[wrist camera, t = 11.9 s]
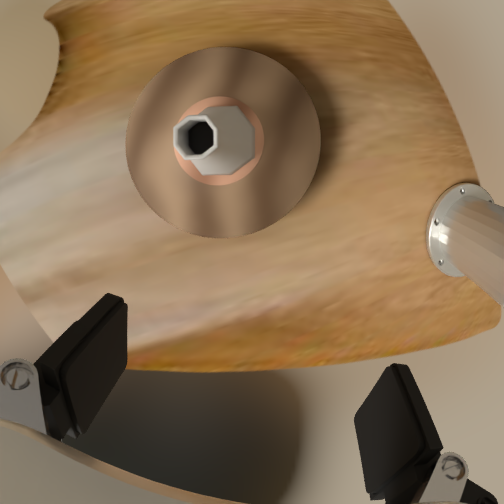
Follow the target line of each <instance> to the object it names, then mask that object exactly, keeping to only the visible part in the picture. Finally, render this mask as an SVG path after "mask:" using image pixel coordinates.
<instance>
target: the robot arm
mask: <svg viewBox="0 0 504 504" xmlns="http://www.w3.org/2000/svg"><path fill="white" fill-rule="evenodd" d="M426 243H427V250H428V253H429V256H430V258H431V260H432V262H433V264H434V265H435V266H436V267H437V268H438V269H439V270H440V271H442V272H443V273H444V274H446V275H448V276H452V277H462V276H467V277H468V278H469V279H470V280H472V281H473V282H474V283H475V284H476V285H478V286H479V287H480V288H481V289H482V290H484V291H485V292H486V293H487V294H488V295H489V296H491V297H492V298H493V299H494V300H495V301H496V302H498V303H499V304H500V305H501V306H502V307H503V308H504V207H502V206H499V205H496V204H494V201H493V199H492V198H491V196H490V195H489V193H488V192H487V191H486V190H485V189H483V188H482V187H480V186H478V185H475V184H471V183H459V184H457V185H454V186H452V187H451V188H449V189H447V190H446V191H445V192H444V193H443V194H442V195H441V196H440V197H439V199H438V200H437V202H436V203H435V205H434V207H433V209H432V211H431V214H430V217H429V220H428V224H427V230H426ZM127 312H128V306H127V304H126V303H124V300H123V298H122V297H119V296H116V295H113V294H110V293H107V294H105V295H104V296H103V297H102V298H101V299H100V300H99V301H98V302H97V303H96V304H95V305H94V306H93V307H92V308H91V309H90V310H89V311H88V312H87V313H86V314H85V315H84V316H83V317H82V318H80V319H79V320H78V321H76V322H74V323H73V324H72V325H71V326H70V327H69V328H68V329H67V330H66V331H65V332H64V333H63V334H62V335H61V336H60V337H59V338H58V339H57V340H56V341H55V342H54V343H53V344H52V345H51V346H50V347H49V348H48V349H47V350H46V351H45V352H44V354H43V355H42V356H41V357H40V358H39V359H38V360H37V361H36V362H35V363H34V364H32V363H31V362H29V361H27V360H24V359H18V358H16V359H10V360H8V361H6V362H4V363H3V364H2V365H1V366H0V504H246V503H239V502H234V501H228V500H223V499H218V498H214V497H209V496H204V495H200V494H196V493H192V492H188V491H185V490H181V489H177V488H173V487H170V486H167V485H164V484H161V483H157V482H154V481H151V480H148V479H146V478H143V477H140V476H137V475H135V474H132V473H129V472H127V471H124V470H122V469H119V468H116V467H114V466H112V465H109V464H107V463H105V462H102V461H100V460H97V459H95V458H93V457H91V456H89V455H87V454H84V453H82V452H80V451H78V450H76V449H74V448H72V447H70V446H68V445H66V444H64V443H62V440H61V439H63V438H64V436H65V435H66V434H68V435H70V436H72V437H73V438H75V439H77V437H78V436H79V434H80V433H82V434H84V433H85V432H86V431H87V429H88V428H89V426H90V424H91V423H92V421H93V419H94V418H95V416H96V415H97V413H98V411H99V410H100V408H101V406H102V405H103V403H104V401H105V400H106V398H107V397H108V395H109V393H110V392H111V390H112V389H113V387H114V385H115V384H116V382H117V381H118V379H119V377H120V376H121V374H122V373H123V371H124V370H125V368H126V365H127ZM354 423H355V429H356V434H357V439H358V445H359V450H360V456H361V462H362V468H363V474H364V481H365V487H366V491H367V493H370V500H382V499H384V498H385V501H386V503H385V504H498V502H497V499H496V498H495V497H494V495H492V494H491V493H490V492H488V491H486V490H485V489H483V488H481V487H480V486H478V485H477V484H475V483H474V482H472V481H470V480H469V479H467V477H468V466H467V464H466V461H465V460H464V459H463V458H462V457H461V456H460V455H458V454H456V453H454V452H447V453H444V454H442V455H441V454H440V451H441V450H442V449H443V446H442V443H441V440H440V438H439V435H438V433H437V430H436V428H435V425H434V423H433V420H432V418H431V416H430V413H429V411H428V409H427V406H426V404H425V402H424V400H423V397H422V395H421V393H420V390H419V388H418V386H417V384H416V382H415V379H414V377H413V375H412V373H411V371H410V369H409V367H408V366H407V365H404V364H396V363H393V364H392V365H390V366H389V367H386V369H385V370H384V372H383V373H382V375H381V377H380V378H379V380H378V381H377V383H376V384H375V386H374V387H373V389H372V391H371V392H370V394H369V395H368V397H367V398H366V399H365V401H364V402H363V404H362V405H361V407H360V408H359V410H358V411H357V412H356V414H355V417H354Z"/></svg>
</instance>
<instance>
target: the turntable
mask: <svg viewBox="0 0 504 504" xmlns="http://www.w3.org/2000/svg"><path fill="white" fill-rule="evenodd" d="M216 106H238V107H239V109H240V110H241V111H242V112H243V114H244V115H245V116H246V117H247V119H248V120H249V121H250V123H251V124H252V125H253V126H254V128H255V158H254V159H252V160H251V161H250V162H248V163H247V164H245V165H244V166H243V167H241V168H240V169H239V170H237V171H236V172H235V173H233V174H232V175H202V174H201V173H200V172H199V171H198V169H197V168H196V167H195V165H194V164H193V163H192V162H191V160H184V159H183V157H182V156H181V155H180V154H179V152H178V151H177V150H176V148H175V147H174V146H173V127H174V126H176V125H177V124H178V123H179V122H180V121H182V120H183V119H184V118H185V117H186V116H188V115H198V114H199V113H200V112H202V111H203V110H204V109H206V108H207V107H216ZM320 149H321V133H320V125H319V120H318V116H317V113H316V109H315V107H314V105H313V102H312V100H311V98H310V96H309V94H308V93H307V91H306V90H305V88H304V86H303V85H302V84H301V83H300V82H299V80H298V79H297V78H296V77H295V76H294V75H293V74H292V73H291V72H290V71H289V70H288V69H286V68H285V67H284V66H283V65H281V64H280V63H278V62H277V61H275V60H273V59H271V58H269V57H267V56H265V55H263V54H260V53H258V52H254V51H251V50H247V49H242V48H235V47H216V48H208V49H203V50H199V51H196V52H193V53H190V54H187V55H185V56H183V57H181V58H179V59H177V60H175V61H173V62H172V63H170V64H169V65H167V66H166V67H164V68H163V69H162V70H161V71H160V72H158V73H157V74H156V75H155V76H154V77H153V78H152V79H151V80H150V82H149V83H148V84H147V85H146V86H145V88H144V89H143V91H142V92H141V94H140V95H139V97H138V99H137V101H136V103H135V105H134V107H133V109H132V112H131V115H130V118H129V122H128V126H127V131H126V157H127V163H128V168H129V171H130V174H131V178H132V180H133V182H134V184H135V187H136V189H137V190H138V192H139V193H140V195H141V197H142V198H143V200H144V201H145V202H146V203H147V205H148V206H149V207H150V208H151V209H152V210H153V211H154V212H155V213H156V214H157V215H158V216H159V217H161V218H162V219H164V220H165V221H166V222H168V223H169V224H171V225H173V226H175V227H176V228H178V229H180V230H183V231H185V232H188V233H190V234H194V235H198V236H202V237H209V238H233V237H240V236H244V235H248V234H252V233H254V232H257V231H260V230H262V229H264V228H266V227H268V226H270V225H272V224H274V223H275V222H277V221H278V220H279V219H281V218H282V217H283V216H285V215H286V214H287V213H288V212H289V211H290V210H291V209H292V208H293V207H294V206H295V205H296V204H297V203H298V202H299V200H300V199H301V198H302V197H303V195H304V194H305V192H306V190H307V189H308V187H309V186H310V183H311V181H312V179H313V177H314V174H315V172H316V168H317V165H318V161H319V155H320Z"/></svg>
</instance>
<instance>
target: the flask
mask: <svg viewBox="0 0 504 504" xmlns="http://www.w3.org/2000/svg"><path fill="white" fill-rule="evenodd" d="M173 146H174V147H175V148H176V150H177V151H178V152H179V154H180V155H181V156H182V157H183V159H184V160H191V162H192V163H193V164H194V165H195V167H196V168H197V169H198V171H199V172H200V173H201V174H202V175H232V174H233V173H235V172H236V171H237V170H239V169H240V168H241V167H243V166H244V165H245V164H247V163H248V162H250V161H251V160H252V159H254V158H255V128H254V126H253V125H252V124H251V123H250V121H249V120H248V119H247V117H246V116H245V115H244V114H243V112H242V111H241V110H240V109H239V107H238V106H216V107H207V108H206V109H204V110H203V111H202V112H200V113H199V114H198V115H188V116H186V117H185V118H184V119H183V120H182V121H180V122H179V123H178V124H177V125H176V126H174V127H173Z"/></svg>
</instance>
